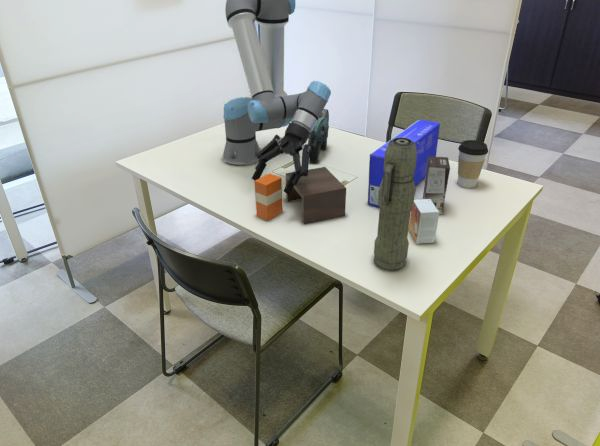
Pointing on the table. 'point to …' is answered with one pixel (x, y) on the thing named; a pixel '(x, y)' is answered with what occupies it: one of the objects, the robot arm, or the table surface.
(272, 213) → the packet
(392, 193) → the thermos
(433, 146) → the blue cardboard box
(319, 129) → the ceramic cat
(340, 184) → the small wooden table
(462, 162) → the coffee cup
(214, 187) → the table surface
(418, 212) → the small box
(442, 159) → the coffee box
